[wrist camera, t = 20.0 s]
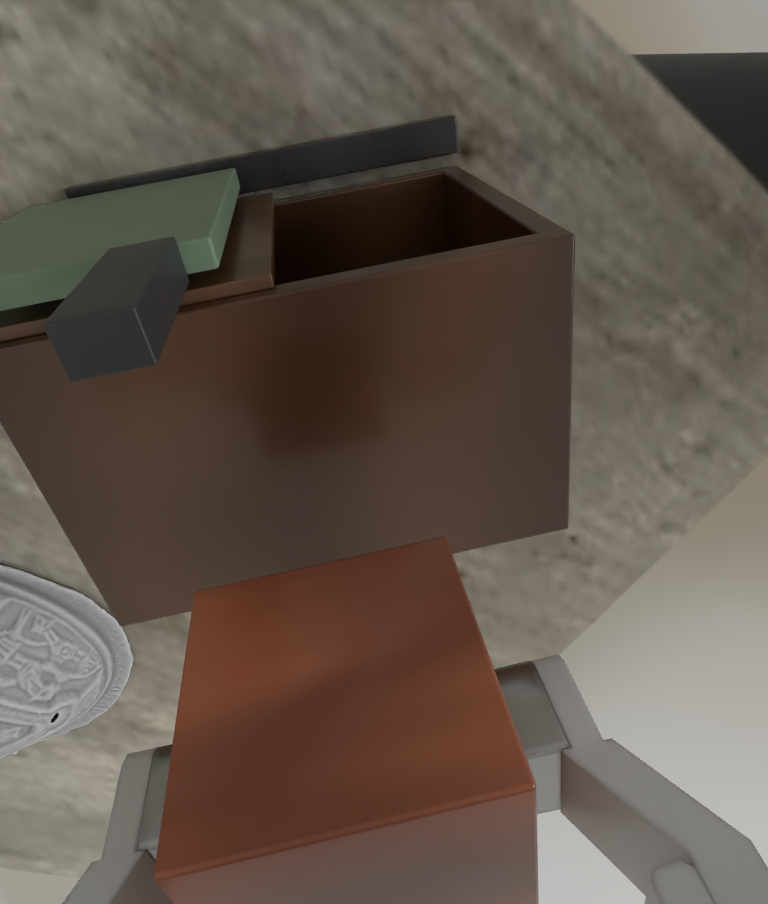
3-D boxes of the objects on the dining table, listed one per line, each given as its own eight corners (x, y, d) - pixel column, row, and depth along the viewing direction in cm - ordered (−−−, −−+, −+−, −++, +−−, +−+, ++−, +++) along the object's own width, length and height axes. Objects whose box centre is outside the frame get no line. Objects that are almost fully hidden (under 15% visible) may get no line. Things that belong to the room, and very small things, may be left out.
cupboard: (453, 114, 22) (578, 152, 13) (473, 376, 28) (569, 529, 19) (67, 187, 22) (-85, 280, 12) (170, 439, 28) (119, 627, 18)
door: (234, 162, 21) (181, 296, 9) (241, 192, 22) (201, 357, 10) (25, 202, 21) (-314, 394, 9) (38, 231, 21) (-263, 450, 9)
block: (445, 534, 11) (538, 786, 7) (464, 688, 14) (540, 935, 10) (193, 590, 11) (150, 880, 7) (260, 736, 13) (256, 1007, 10)
